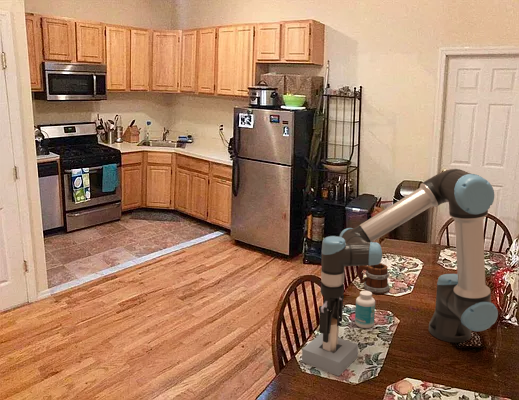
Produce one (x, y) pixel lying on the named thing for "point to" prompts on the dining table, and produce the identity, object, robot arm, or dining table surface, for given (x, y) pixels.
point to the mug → (374, 278)
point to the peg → (333, 335)
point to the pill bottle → (365, 310)
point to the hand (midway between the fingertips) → (330, 345)
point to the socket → (330, 355)
